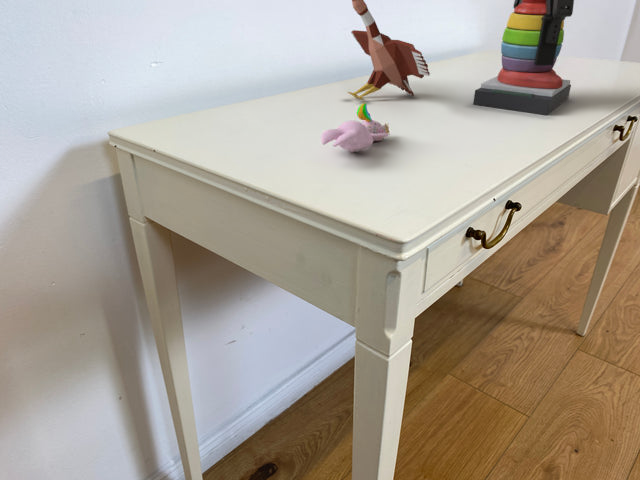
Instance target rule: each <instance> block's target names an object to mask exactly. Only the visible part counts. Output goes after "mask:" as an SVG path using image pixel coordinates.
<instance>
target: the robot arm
mask: <svg viewBox="0 0 640 480" xmlns="http://www.w3.org/2000/svg"><path fill="white" fill-rule="evenodd" d="M521 3H522V0H514V2H513V10H514V9H515V8H516V7H517V6H518V5H519V4H521ZM574 3H575V0H546V14H545V15H544V16H543V17H542V18H541V19H542V20H543V21H542V26H541V31H540V36H539V41H538V47H537V52H536V57H535V62H534V65H553V62H554V57H555V52H556V48H557V43H558V38H559V33H560V29H561V24H562V20H564V21H565V20H566V18H568V17H569V18H570V17H572V15H573V13H574Z"/></svg>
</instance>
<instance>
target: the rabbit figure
mask: <svg viewBox="0 0 640 480" xmlns="http://www.w3.org/2000/svg"><path fill="white" fill-rule="evenodd" d="M367 107H368V104H367V102H363V103H361V104H360V105H359V106H358V108H357V111H356V116H357V118H358V119H359V120H361V122H360V121H358V120H347V121H345V122H342V123H341V124H339V126H338V127H337V128H331V129H326V130H324V131H323V132H322V133H321V136H320V143H321V145H323V146H325V145H327V144H328V143H330V142H333V141H334V140H335V141H334V143H333V145H332V147H340V148H342V149H344V150H347V151H350V153H354V152H356V153H358V152H360V151H361V150H365V149H368V148H370V147H371V146H372V145H373V144H374V142H381V141H382V140H384V138H387V137H389V135H391V133H390V129H389V128H390V127H389V124H390V123H389V122H387V123H384V124H381V123H380V122H379V121H376V120H373V118H371V114H370V112H369V111H368V108H367Z"/></svg>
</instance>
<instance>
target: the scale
mask: <svg viewBox="0 0 640 480" xmlns="http://www.w3.org/2000/svg"><path fill="white" fill-rule="evenodd" d="M497 77H498V75H497V76H495V77H492V78H490V79H488V80H486V81H483V82H482V83H481V84H480V87H479V88H477V89H475V90H474V94H473V102H472V105H473V106H480V107H486V108H494V109H502V110H506V111H507V110H509V111H515V112H522V113H529V114H534V115H535V114H536V115H543V116H548V115H549V114H551V112H553V111H554V110H556V109H557V108H558V107H559V106H560V105H562V104H564V103H565V102H566V101H567V100H568V99H569V97H570V94H571V93H570V92H571V88H572V84H571V79H563V78H562V81H563V85H562V87H561V88H556V89H546V88H531V87H522V86H514V85H509V84H505V83H502V82H500V81H498V80H497Z"/></svg>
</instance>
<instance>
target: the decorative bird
mask: <svg viewBox="0 0 640 480" xmlns="http://www.w3.org/2000/svg"><path fill="white" fill-rule="evenodd" d="M351 3H352V8H353V10H354V11H355V12H356V14H357V15H359V16H360V18H361V20H362V22H363V24H364V27H365V30H366V31H365V30H357V29H356V30H355V29H353V30H351V31H350V33H351V35H352V37H353V38H354V39H355V41H356V42H357V43H358V45H359V46H360V48H361V49H362V51H363V52H364V54H365V55H368V56H369V57H370V60H371V63H372V67H373V70H372V72H371V74H370V76H369V78H368V80H367V82H366V83H365V84H364V85H363V86H361V87H360V88H358V90H356V91H355V92H351V91H347V94H349V95H350V96H353V97H354V98H356V99H358V100H362V101H366V100H365V99H364V97H366V96H368V95H370V94H373V93H376V92H377V91H380V90H381V89H382V88H383V87H384V86H386V85H387V84H390V85H393V86H395V87H397V88H399V89H400V90H401V91H405V93H408V94H409V95H412V97H414V96H415V93H414V91H413V90H412V88H411V87H410V83H409V78H408V77H409V76H414V77H416V78H418V79H422V80H423V78H424V77H425V76H428V77H429V76H430V74H431V73H430V71H429V65H428V63H427V61H426V60H425V59H424V56H423V54H422V51H419V49H416V47H415V45H414V44H413V43H410V42H408V41H407V42H406V41H403V40H400V39H392V38H391V37H389V35H387V34H384V33H382V32H381V31H380V30H379V27H378V25H377V23H376V20H375V18H374V17H373V15H372V13H371V11H370V10H369V8H368V5H367V3H366V1H365V0H351ZM362 92H363V93H362ZM360 93H362V94H361V95H358V94H360Z"/></svg>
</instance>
